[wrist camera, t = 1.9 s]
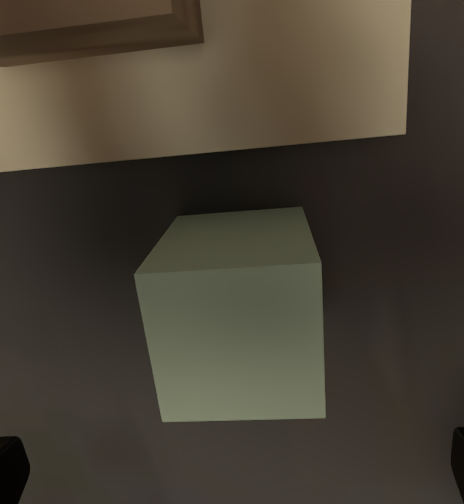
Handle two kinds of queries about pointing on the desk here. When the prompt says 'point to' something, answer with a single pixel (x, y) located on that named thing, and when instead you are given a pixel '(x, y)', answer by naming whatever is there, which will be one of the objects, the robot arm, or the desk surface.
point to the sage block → (235, 317)
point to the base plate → (195, 76)
